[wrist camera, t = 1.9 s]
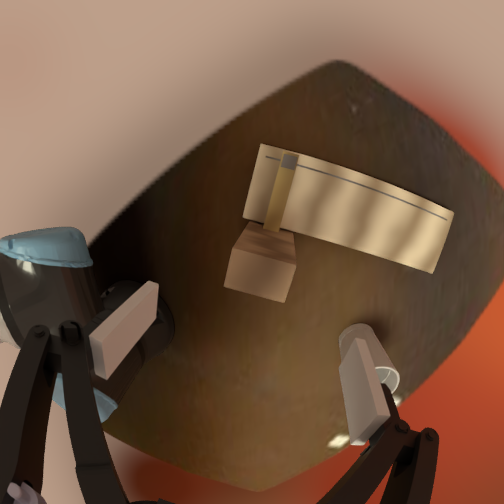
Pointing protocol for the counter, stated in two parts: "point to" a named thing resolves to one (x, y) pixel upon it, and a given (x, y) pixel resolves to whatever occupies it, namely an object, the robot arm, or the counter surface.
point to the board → (351, 210)
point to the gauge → (267, 245)
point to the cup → (376, 350)
